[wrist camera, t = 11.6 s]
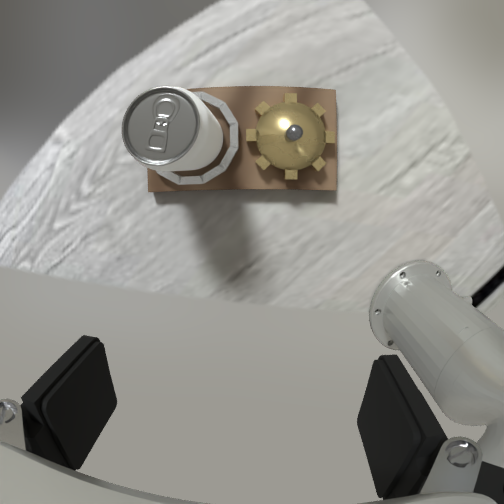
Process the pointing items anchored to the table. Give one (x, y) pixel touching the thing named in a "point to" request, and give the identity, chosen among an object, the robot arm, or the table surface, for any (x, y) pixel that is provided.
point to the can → (171, 130)
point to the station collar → (229, 154)
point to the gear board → (244, 162)
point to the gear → (290, 136)
